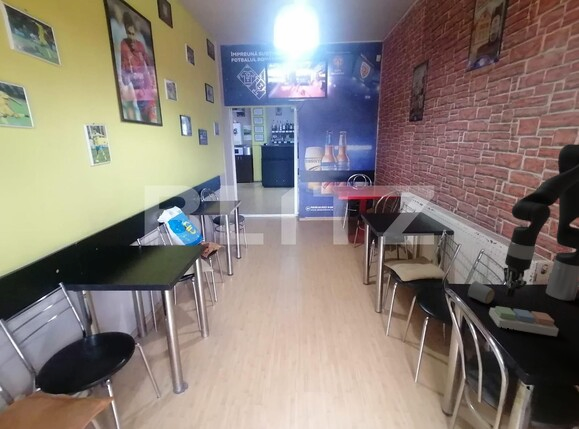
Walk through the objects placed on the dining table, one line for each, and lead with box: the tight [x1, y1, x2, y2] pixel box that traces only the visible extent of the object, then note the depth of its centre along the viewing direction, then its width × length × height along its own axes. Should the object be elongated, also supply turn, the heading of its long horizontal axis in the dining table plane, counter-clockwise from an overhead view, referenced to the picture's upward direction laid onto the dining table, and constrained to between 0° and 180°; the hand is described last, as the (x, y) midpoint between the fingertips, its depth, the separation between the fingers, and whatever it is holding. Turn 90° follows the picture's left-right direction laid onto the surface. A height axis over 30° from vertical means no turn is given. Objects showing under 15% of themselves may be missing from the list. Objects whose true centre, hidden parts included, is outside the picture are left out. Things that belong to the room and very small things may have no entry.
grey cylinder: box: [467, 280, 495, 304], centre depth 130 cm, size 11×8×8 cm
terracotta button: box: [530, 311, 555, 326], centre depth 111 cm, size 5×5×3 cm
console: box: [488, 307, 560, 337], centre depth 113 cm, size 19×9×3 cm, turn 75°
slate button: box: [512, 308, 535, 323], centre depth 112 cm, size 5×5×3 cm
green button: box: [494, 305, 516, 320], centre depth 114 cm, size 5×5×3 cm
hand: (509, 296), depth 112 cm, fingers closed
